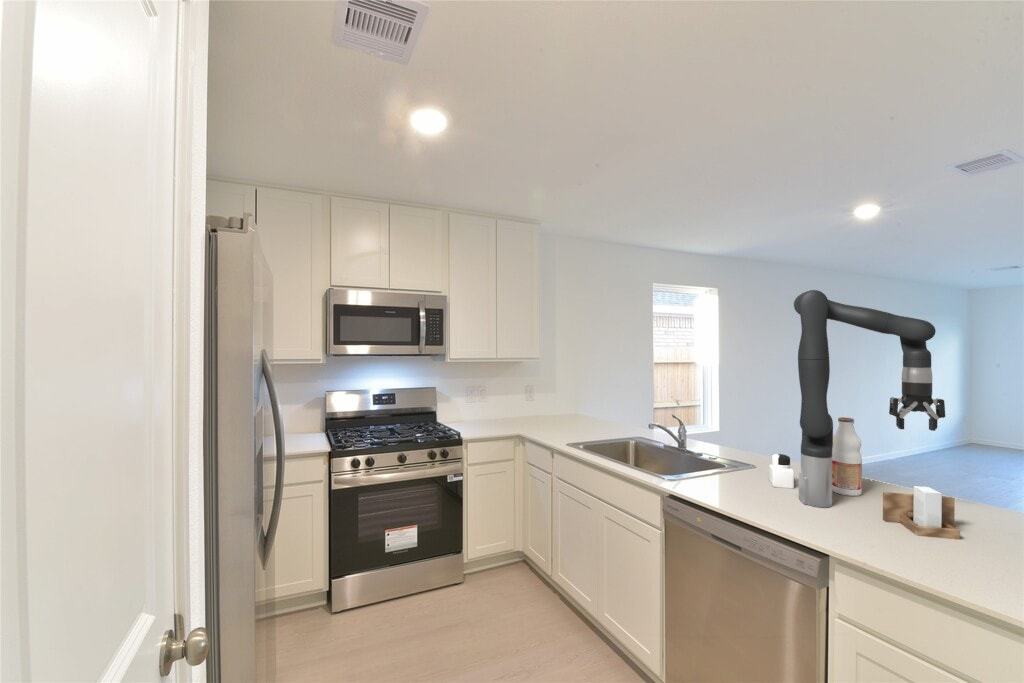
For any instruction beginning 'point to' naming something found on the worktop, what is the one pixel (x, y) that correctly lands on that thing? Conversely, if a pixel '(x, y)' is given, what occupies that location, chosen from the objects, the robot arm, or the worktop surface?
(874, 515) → the worktop surface
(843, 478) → the fruit juice
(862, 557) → the worktop surface
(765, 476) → the worktop surface
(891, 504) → the wooden frame stand
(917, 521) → the skincare box
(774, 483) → the medicine bottle
